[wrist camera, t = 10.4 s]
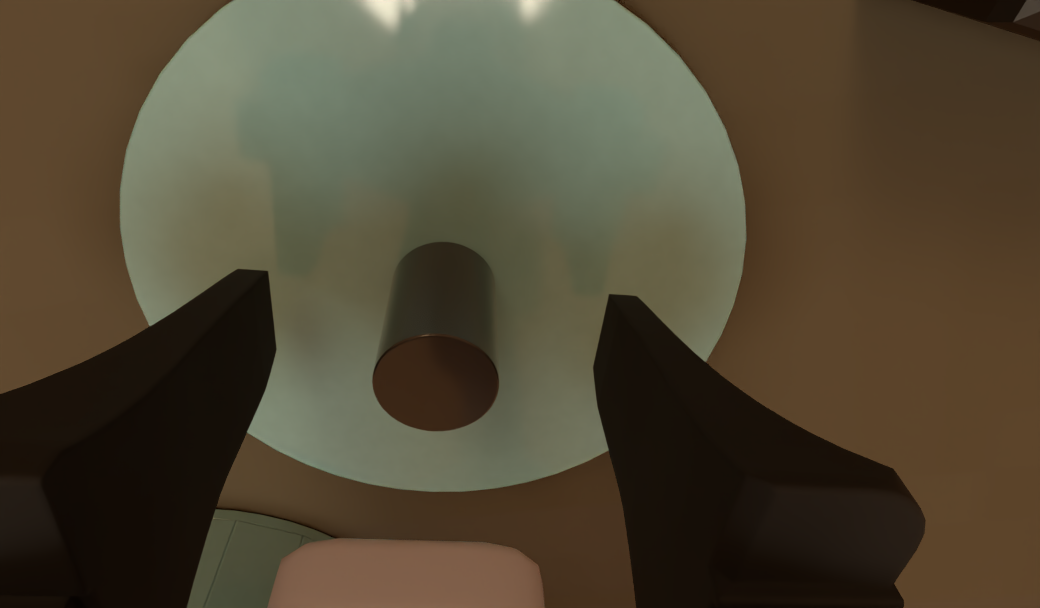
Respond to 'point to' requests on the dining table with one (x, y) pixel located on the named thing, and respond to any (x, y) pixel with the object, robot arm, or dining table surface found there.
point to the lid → (435, 219)
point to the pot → (244, 558)
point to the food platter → (997, 13)
